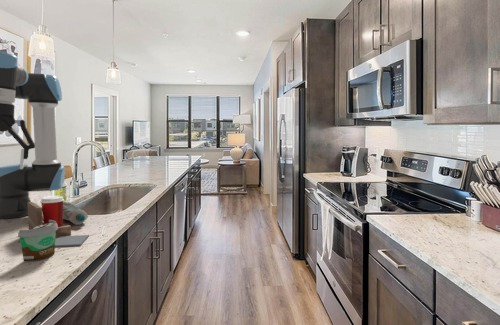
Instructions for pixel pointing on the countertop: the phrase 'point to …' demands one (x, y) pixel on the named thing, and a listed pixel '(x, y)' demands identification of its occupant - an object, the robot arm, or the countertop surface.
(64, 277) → the countertop surface
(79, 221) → the crushed grey plastic bottle
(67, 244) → the charcoal mat
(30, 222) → the walnut rack
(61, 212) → the paper cup
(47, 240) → the food container
